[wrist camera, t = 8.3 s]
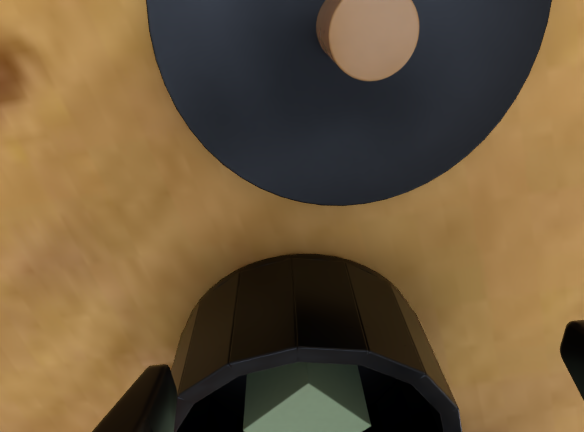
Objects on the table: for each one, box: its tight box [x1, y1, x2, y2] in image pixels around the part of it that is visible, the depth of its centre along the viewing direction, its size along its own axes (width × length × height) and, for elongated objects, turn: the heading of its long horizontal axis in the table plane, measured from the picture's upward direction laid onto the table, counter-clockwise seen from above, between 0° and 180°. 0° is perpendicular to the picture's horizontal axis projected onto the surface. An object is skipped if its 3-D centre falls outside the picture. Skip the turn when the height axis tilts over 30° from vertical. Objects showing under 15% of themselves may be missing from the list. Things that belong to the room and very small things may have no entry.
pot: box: [171, 254, 462, 432], centre depth 21 cm, size 14×14×6 cm
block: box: [243, 362, 371, 432], centre depth 22 cm, size 4×4×4 cm
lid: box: [146, 0, 552, 206], centre depth 14 cm, size 15×15×5 cm
